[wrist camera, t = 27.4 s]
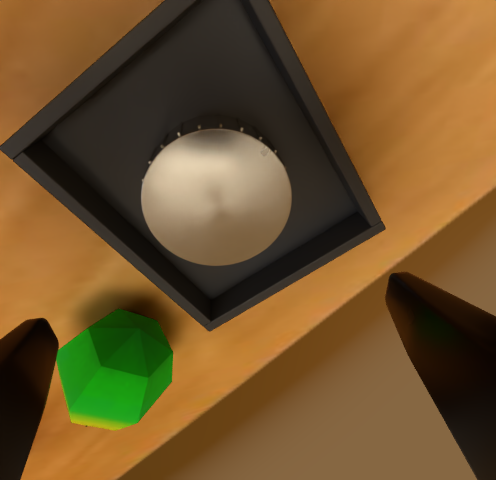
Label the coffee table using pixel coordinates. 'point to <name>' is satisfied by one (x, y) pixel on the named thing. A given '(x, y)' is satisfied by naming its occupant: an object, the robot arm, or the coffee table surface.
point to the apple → (115, 370)
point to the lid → (215, 191)
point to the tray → (182, 109)
